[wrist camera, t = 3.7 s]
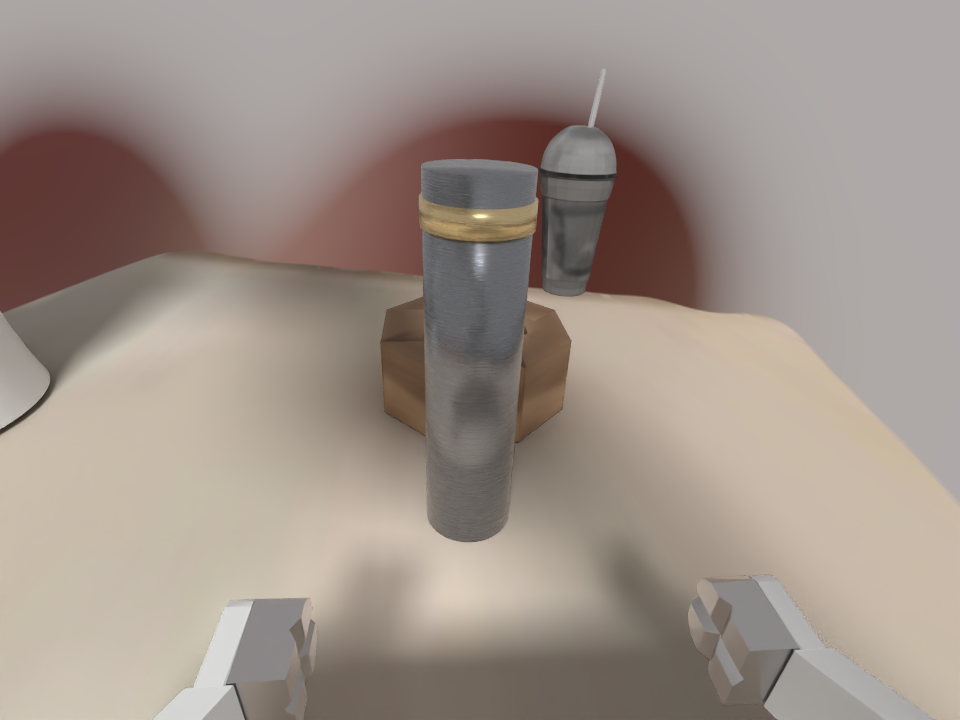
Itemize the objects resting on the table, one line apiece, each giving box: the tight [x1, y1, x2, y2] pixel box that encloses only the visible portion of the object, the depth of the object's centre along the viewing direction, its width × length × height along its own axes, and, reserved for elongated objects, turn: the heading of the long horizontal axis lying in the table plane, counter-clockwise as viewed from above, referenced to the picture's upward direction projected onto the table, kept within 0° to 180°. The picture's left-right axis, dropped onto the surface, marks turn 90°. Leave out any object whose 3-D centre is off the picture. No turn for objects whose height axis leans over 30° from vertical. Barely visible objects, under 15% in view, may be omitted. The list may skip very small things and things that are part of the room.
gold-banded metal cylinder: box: [419, 159, 538, 542], centre depth 21 cm, size 4×4×16 cm
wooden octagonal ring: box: [380, 297, 571, 442], centre depth 34 cm, size 11×12×5 cm
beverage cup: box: [539, 69, 617, 296], centre depth 49 cm, size 7×7×20 cm
